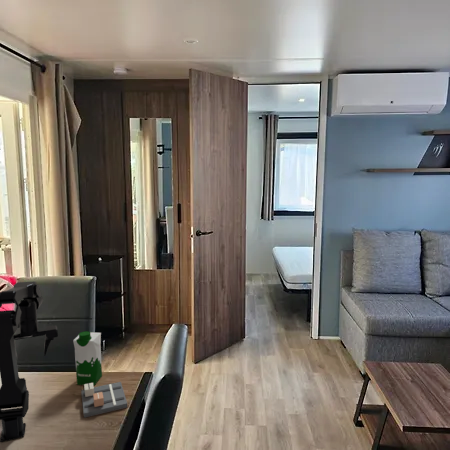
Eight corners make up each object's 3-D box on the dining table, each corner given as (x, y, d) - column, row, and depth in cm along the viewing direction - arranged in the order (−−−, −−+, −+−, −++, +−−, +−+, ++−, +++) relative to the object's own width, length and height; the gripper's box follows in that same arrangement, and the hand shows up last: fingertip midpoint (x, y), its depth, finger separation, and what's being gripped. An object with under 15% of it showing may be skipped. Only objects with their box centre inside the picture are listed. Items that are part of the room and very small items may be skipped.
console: (127, 407, 133) (127, 402, 132) (84, 417, 127) (83, 412, 127) (121, 385, 146) (120, 381, 146) (81, 393, 141) (81, 389, 141)
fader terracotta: (103, 405, 131) (103, 397, 130) (94, 407, 130) (94, 399, 129) (102, 398, 134) (102, 391, 134) (93, 400, 133) (93, 393, 133)
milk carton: (73, 386, 146) (70, 335, 143) (84, 373, 155) (81, 325, 152) (95, 387, 145) (93, 336, 142) (105, 374, 154) (103, 326, 151)
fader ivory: (94, 395, 137) (93, 387, 136) (85, 397, 136) (84, 389, 135) (93, 389, 140) (92, 382, 140) (84, 391, 139) (84, 384, 139)
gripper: (55, 306, 150) (58, 344, 152) (0, 313, 142) (3, 353, 144) (56, 315, 140) (59, 356, 142) (-4, 323, 132) (0, 366, 134)
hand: (30, 357), depth 141 cm, fingers open, 9 cm apart
